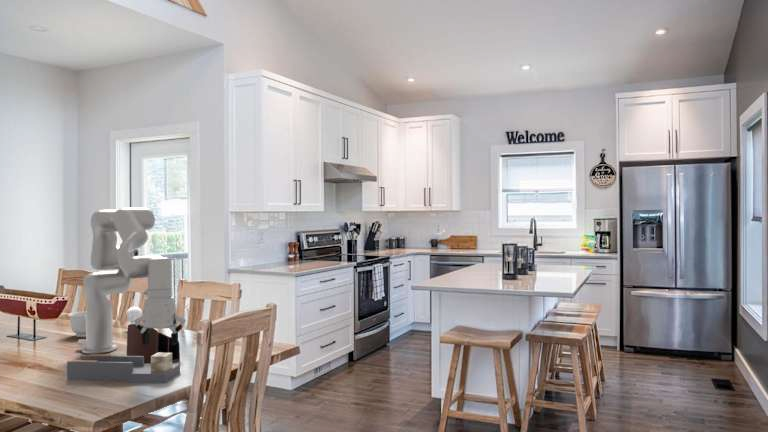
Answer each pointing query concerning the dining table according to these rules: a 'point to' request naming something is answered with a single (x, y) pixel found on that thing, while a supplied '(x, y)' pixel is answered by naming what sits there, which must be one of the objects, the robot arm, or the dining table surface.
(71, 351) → the dining table surface
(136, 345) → the letter holder
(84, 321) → the teacup
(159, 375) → the grey stepped platform
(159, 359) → the birch block
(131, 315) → the light bulb
